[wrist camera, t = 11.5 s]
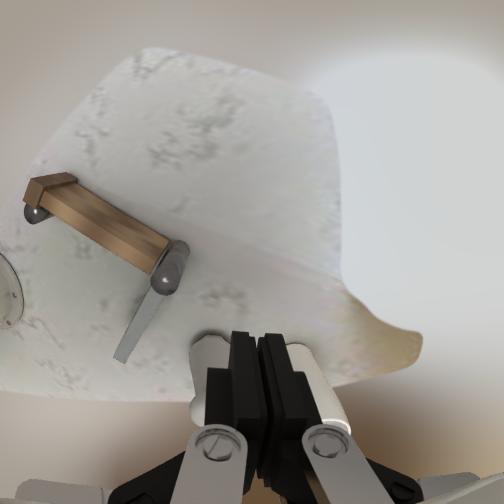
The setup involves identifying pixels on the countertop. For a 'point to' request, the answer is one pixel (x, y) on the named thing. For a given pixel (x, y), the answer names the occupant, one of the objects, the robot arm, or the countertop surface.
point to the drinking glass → (318, 386)
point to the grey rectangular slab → (138, 324)
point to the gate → (96, 219)
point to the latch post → (36, 214)
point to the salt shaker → (205, 370)
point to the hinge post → (170, 269)
